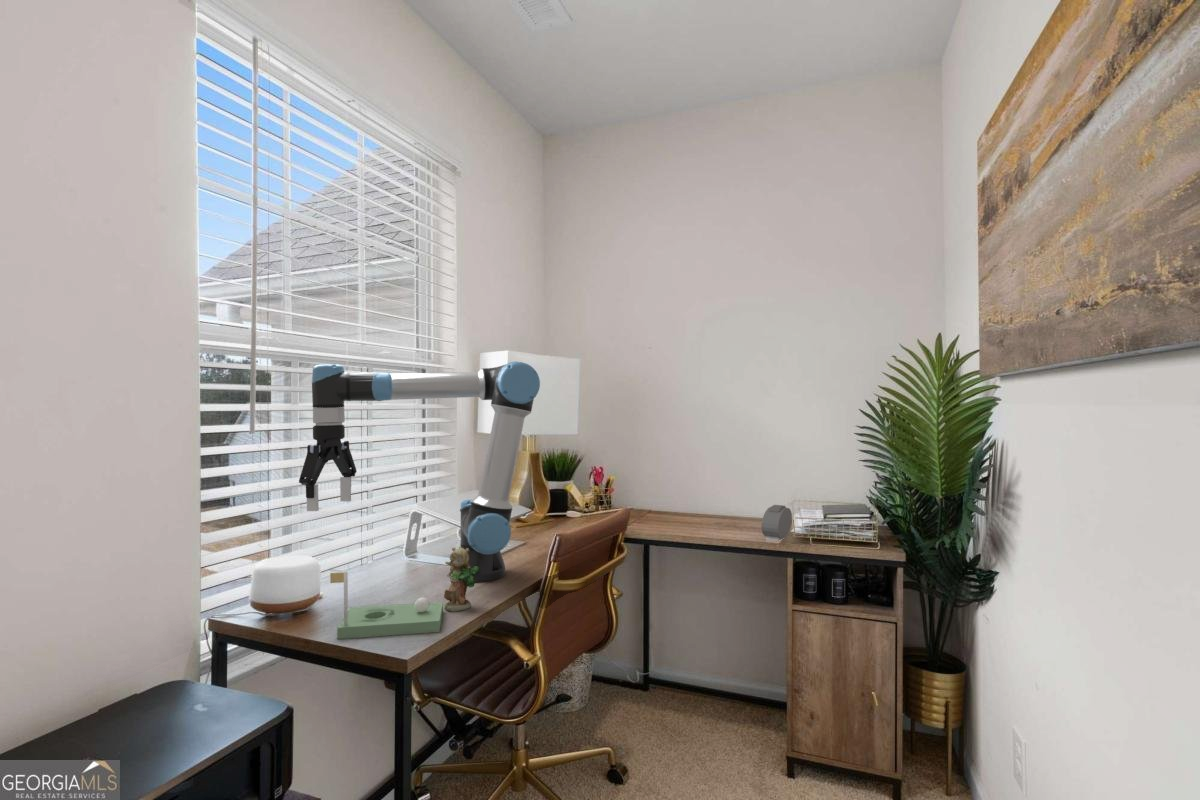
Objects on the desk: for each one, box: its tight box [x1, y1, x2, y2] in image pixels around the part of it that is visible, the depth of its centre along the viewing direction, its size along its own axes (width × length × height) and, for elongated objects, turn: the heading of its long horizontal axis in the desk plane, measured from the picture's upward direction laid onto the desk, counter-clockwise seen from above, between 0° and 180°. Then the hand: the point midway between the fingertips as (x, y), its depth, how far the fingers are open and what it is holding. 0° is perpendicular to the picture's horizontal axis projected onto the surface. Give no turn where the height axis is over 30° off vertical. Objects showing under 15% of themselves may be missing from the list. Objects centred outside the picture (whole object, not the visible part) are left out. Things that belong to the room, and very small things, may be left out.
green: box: [336, 601, 444, 640], centre depth 141 cm, size 22×13×2 cm, turn 101°
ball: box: [414, 597, 430, 613], centre depth 142 cm, size 3×3×3 cm
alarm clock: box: [761, 504, 793, 541], centre depth 228 cm, size 23×6×13 cm, turn 150°
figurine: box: [443, 546, 479, 613], centre depth 152 cm, size 9×8×15 cm
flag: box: [329, 571, 349, 626], centre depth 134 cm, size 4×1×12 cm, turn 101°
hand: (330, 505), depth 155 cm, fingers open, 13 cm apart
